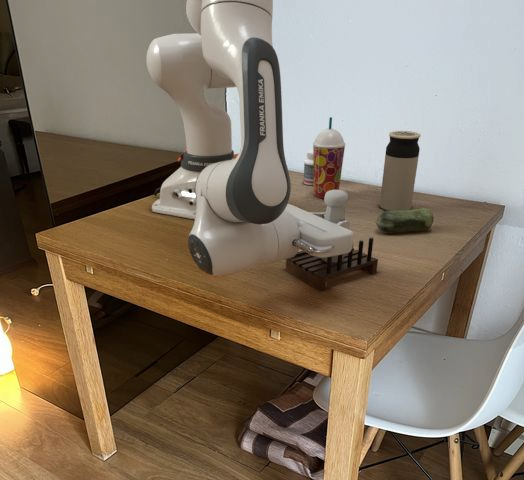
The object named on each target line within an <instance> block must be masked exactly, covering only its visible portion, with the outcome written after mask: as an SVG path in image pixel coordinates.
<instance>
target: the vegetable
mask: <svg viewBox="0 0 524 480" xmlns="http://www.w3.org/2000/svg"><path fill="white" fill-rule="evenodd" d="M434 218H435V217H434V213H433V212H432V211H431V210H430V209H428V208H427V207H421V208H416V209H408V210H396V211H388V210H384V211H382V212H381V213H379V215H378V216H377V219H376V221H374V224H375V225H376V227H377V229H378V231H379V232H380V233H383V234H394V233H395V234H396V233H406V232H409V233H410V232H425V231H426V232H427V231H428V230H429V229H431V227H432V226H433V224H434Z"/></svg>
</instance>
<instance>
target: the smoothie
mask: <svg viewBox="0 0 524 480" xmlns="http://www.w3.org/2000/svg"><path fill="white" fill-rule="evenodd" d="M332 125H333V117H331V116H330V117H329V119H328V128H325V129H323V130H321V131H320V132H319V133H318V134H317V136H316V137H315V140H314V141H313V142H312V145H313V146H312V150H313V164H314V185H313V192H314V193H315V197H317V198H319V199H324V198H325V194H326V193H327V192H328V191H330V190H340V187H341V186H340V185H341V177H342V172H343V171H342V170H343V163H344V157H345V150H346V149H345V148H346V142H345V140H344V137H343V135H342V134H341V132H340V131H338V130H336V129H334V128H332Z"/></svg>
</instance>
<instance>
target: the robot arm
mask: <svg viewBox="0 0 524 480" xmlns="http://www.w3.org/2000/svg"><path fill="white" fill-rule="evenodd" d="M185 10H186V11H185V13H186V17H187V20H188V23H189V24H190V25H191V27H192V28H193V30H194V31H195V32H196V33H195V32H194V33H191V32H190V33H189V32H188V33H171V34H167V35H163V36H159V37H156V38H153V39H152V41H151V42H150V44H149V46H148V49H147V51H146V59H145V60H146V69H147V71H148V74H149V76H150V78H151V80H152V81H153V82H154V84H156V85H157V86H158V87H159V88H160V89H162V90H163V91H164V92H165V93H166V94H168V95H169V96H170V98H171V99H172V101H173V102H174V103H175V105H176V106H177V108H178V110H179V113H180V116H181V119H182V123H183V130H184V139H185V147H186V149H185V150H184V151H183V152H182V153H180V154H179V156H177V162H178V163H179V162H180V167H179V168H178V169H176V170H175V171H174V172H173V173H172V174H171V175H170V176H168V177H167V178H166V179H165V180H164V181H163V182H162V184H161V185H160V187H158V188H156V189H155V191H154V193H153V196H154V197H157V196H158V193H159V198H158V199H156V200H155V201H154V202H153V203H152V204H151V211H152V212H153V213H158V214H161V215H162V214H163V215H168V216H174V217H180V218H184V219H185V218H186V219H190V220H194V222H193V226H192V228H191V230H190V232H189V234H188V237H187V247H188V251H189V255H190V256H191V258H192V260H193V262H194V264H195V265H196V266H197V267H198V269H199V270H200V271H202V272H203V273H205V274H207V275H210V276H213V277H221V276H223V277H224V276H228V275H234V274H238V273H241V272H246V271H249V270H252V269H254V268H255V267H257V266H259V265H265V266H266V265H267V266H268V265H271V264H275V263H279V262H283V261H286V259H290V258H293V257H294V256H295V255H296V254H297V252H299V251H300V250H301V251H304V252H306V253H308V254H310V255H312V256H315V257H319V258H324V257H332V256H337V255H342V254H346V253H349V252H350V251H351V250H352V247H353V248H354V231H353V230H350V226H351V225H350V221H349V220H347V219H346V218H345V219H342V220H337V224H335V223H332V222H330V221H328V220H325V219H324V217H325V213H326V211H322V212H313V211H312V212H311V211H307V210H304V209H302V208H300V207H297V206H296V205H293V204H292V203H291V204H290V203H289V202H290V197H291V193H292V192H291V191H292V184H291V176H290V171H289V168H288V164H287V159H286V156H285V147H284V128H283V124H284V123H283V100H282V99H283V98H282V97H283V96H282V78H281V68H280V62H279V58H278V55H277V52H276V50H275V48H274V46H273V16H274V13H273V11H274V0H186V4H185ZM228 88H231V89H232V88H236V89H237V92H238V97H239V118H240V119H239V120H240V123H239V124H240V149H239V151H238V153H239V154H238V153H237V154H238V156H237V158H236V159H234V154H235V151H234V150H233V133H232V132H233V131H232V120H231V116H230V115H229V113H228V112H227V111H226V110H225V109H223V108H222V107H220V106H218V105H217V104H215V103H212V102H210V101H208V99H207V97H206V96H207V95H206V90H208V89H228Z"/></svg>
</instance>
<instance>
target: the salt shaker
mask: <svg viewBox="0 0 524 480" xmlns="http://www.w3.org/2000/svg"><path fill="white" fill-rule="evenodd" d="M323 199H324V201H323V202H324V204H325V205H326V209H325V212H326V213H325V217H324V219H325V220H328V221H330V222H332V223H335V224H337V220H342V219H345V220H346V215H345V214H346V213H345V206H347V205H348V202H349V194H348V192H347V191H345V190H342V189H339V190H330V191H328V192H327V193H326V194H325V198H323ZM344 256H345V254H342V260H343V258H344ZM321 259H322V260H324V261H326V262H327V257H324V258H321ZM337 261H338V255H337V256H332V262H333V263H336V262H337Z"/></svg>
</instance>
